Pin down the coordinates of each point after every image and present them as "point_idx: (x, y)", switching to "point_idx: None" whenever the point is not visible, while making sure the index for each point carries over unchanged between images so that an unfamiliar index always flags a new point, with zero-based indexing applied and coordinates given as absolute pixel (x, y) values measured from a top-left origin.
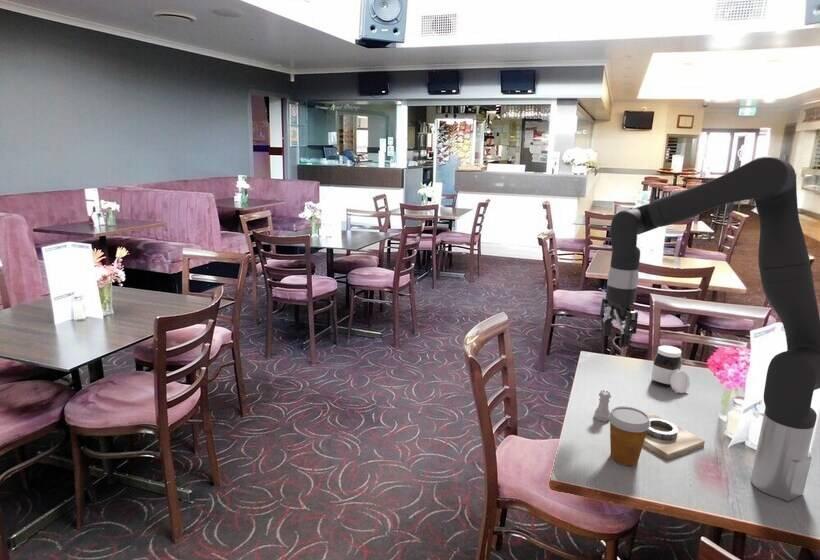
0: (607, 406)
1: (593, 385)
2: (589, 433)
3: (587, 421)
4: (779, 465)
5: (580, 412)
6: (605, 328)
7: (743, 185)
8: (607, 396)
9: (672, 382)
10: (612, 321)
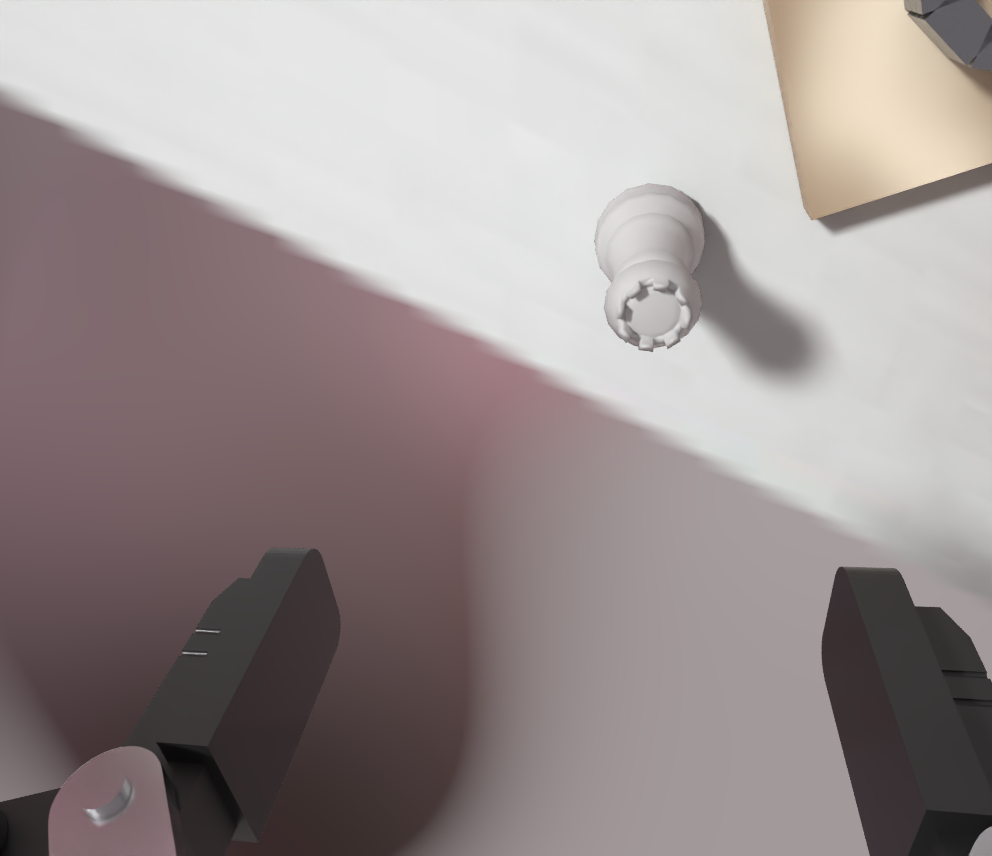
0: (682, 258)
1: (155, 63)
2: (804, 388)
3: None
4: None
5: (560, 333)
6: (297, 738)
7: None
8: (695, 310)
9: None
10: (165, 774)
